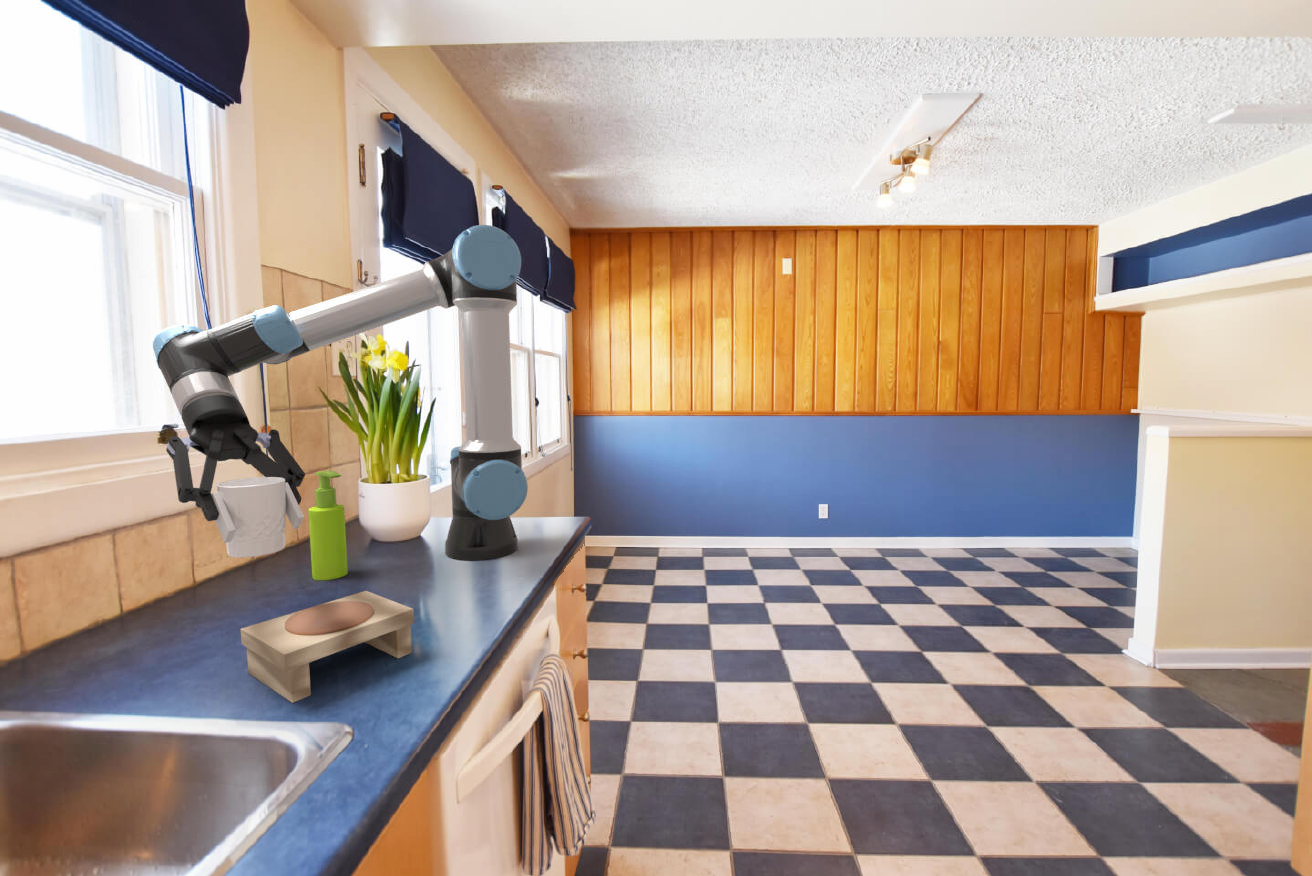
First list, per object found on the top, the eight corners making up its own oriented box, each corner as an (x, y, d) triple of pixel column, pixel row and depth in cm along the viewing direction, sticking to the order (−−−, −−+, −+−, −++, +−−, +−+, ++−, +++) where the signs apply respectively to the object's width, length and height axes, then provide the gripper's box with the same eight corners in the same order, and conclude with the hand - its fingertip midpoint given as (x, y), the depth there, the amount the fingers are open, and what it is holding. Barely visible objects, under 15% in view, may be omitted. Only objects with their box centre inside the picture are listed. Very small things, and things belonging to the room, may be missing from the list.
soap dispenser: (326, 583, 105) (319, 475, 103) (306, 576, 109) (299, 472, 107) (357, 574, 110) (351, 470, 108) (336, 568, 114) (331, 468, 112)
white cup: (253, 542, 86) (248, 476, 85) (302, 544, 86) (298, 477, 85) (207, 558, 79) (201, 486, 78) (261, 560, 78) (255, 487, 77)
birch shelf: (367, 629, 86) (365, 588, 85) (415, 651, 79) (413, 606, 79) (243, 674, 73) (240, 625, 72) (287, 705, 66) (284, 651, 65)
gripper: (279, 422, 98) (333, 529, 90) (117, 431, 81) (167, 564, 73) (292, 390, 94) (349, 499, 87) (124, 393, 77) (178, 529, 70)
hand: (265, 529), depth 80 cm, fingers closed on white cup, 8 cm apart
